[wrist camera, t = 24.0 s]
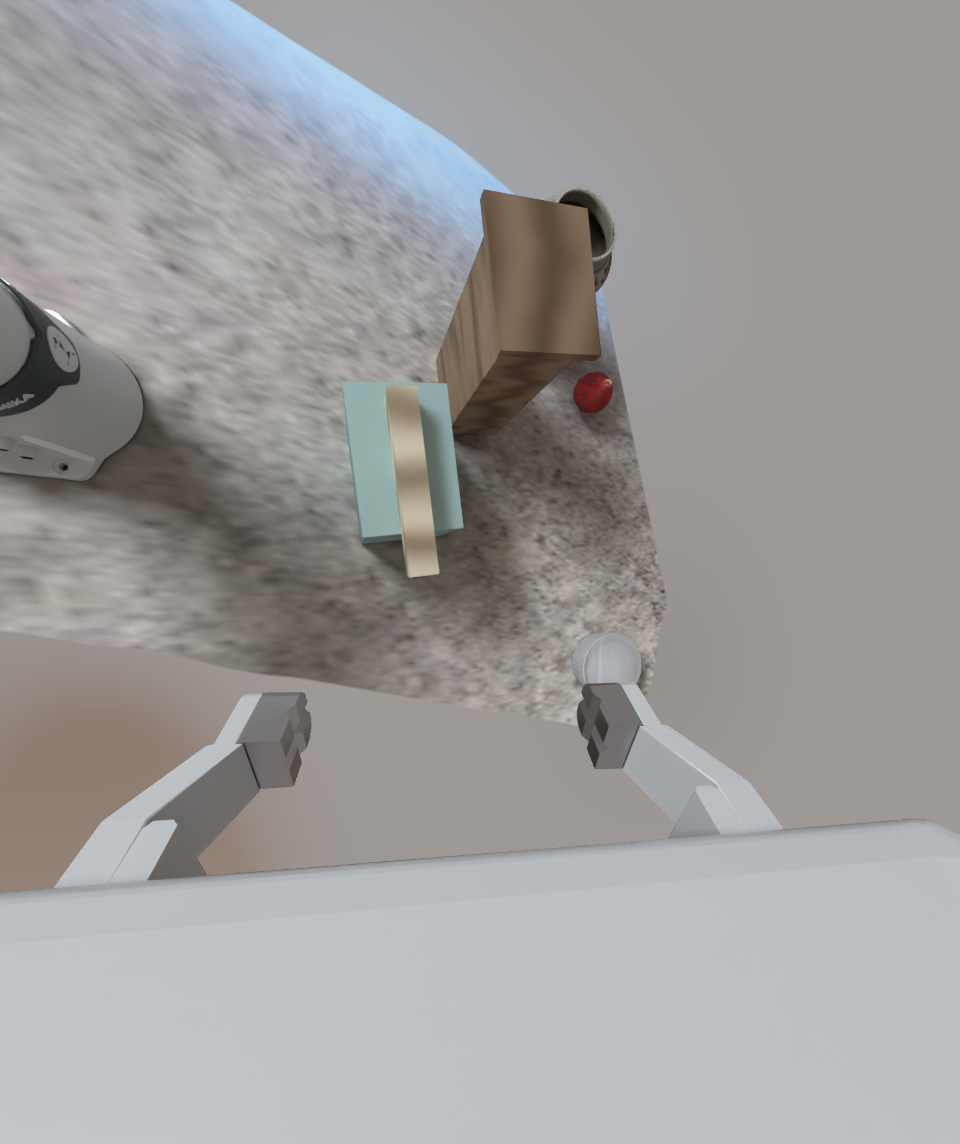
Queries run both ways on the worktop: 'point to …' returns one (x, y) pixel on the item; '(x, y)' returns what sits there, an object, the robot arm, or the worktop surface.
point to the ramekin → (606, 659)
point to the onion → (593, 392)
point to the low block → (377, 465)
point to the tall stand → (519, 311)
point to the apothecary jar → (594, 227)
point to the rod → (411, 480)
